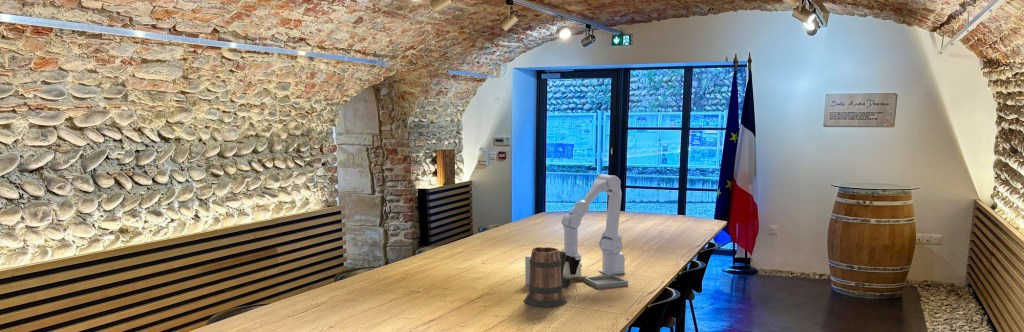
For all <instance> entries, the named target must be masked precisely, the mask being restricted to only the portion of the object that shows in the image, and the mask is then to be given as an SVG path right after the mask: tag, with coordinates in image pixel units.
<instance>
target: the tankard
mask: <svg viewBox="0 0 1024 332" xmlns="http://www.w3.org/2000/svg"><path fill="white" fill-rule="evenodd" d="M530 255H531V259H530V282H529V285H528V294H527V295H525V298H524V299H523V301H522V302H523V303H524V304H525V305H526V306H528V307H533V308H539V309H553V308H560V307H564V306H566V305H567V304H568V303H569V301H568V300H567V298H566V297H565V295H564V294H563V289H565V290H568V289H569V288H570V286H571V284H572V283H571V280H570V278H567V277H563V270H564V266H565V262H566V253H565V252H563V251H561V250H559V249H558V248H555V247H547V246H546V247H540V246H536V247H533V248H532V249H531V254H530Z"/></svg>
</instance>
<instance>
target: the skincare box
mask: <svg viewBox="0 0 1024 332" xmlns="http://www.w3.org/2000/svg"><path fill="white" fill-rule="evenodd" d="M530 259H531V254H527V255H525V256H524V263H525V265H524V269H525V270H524V272H525V273H524V274H525V277H524V278H525V279H524V280H525V286H529V282H530Z"/></svg>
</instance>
